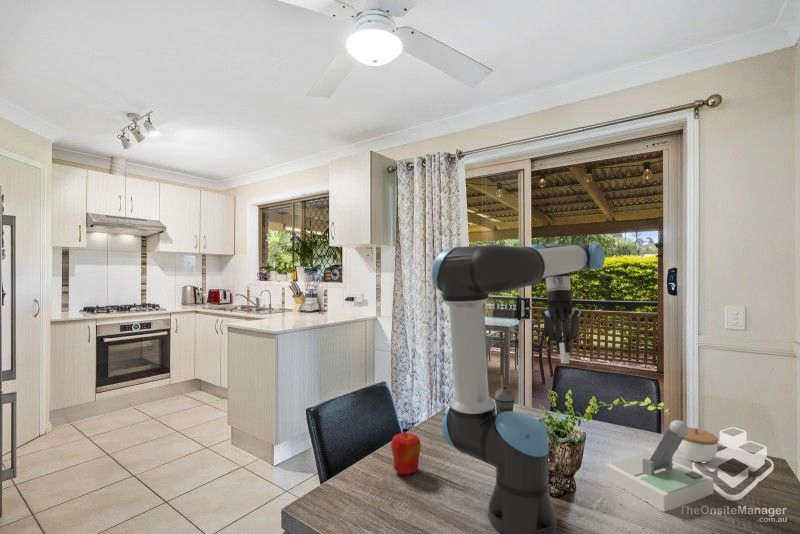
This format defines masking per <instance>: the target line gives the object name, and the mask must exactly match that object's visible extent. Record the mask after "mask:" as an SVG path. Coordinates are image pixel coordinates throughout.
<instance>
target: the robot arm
mask: <svg viewBox="0 0 800 534" xmlns="http://www.w3.org/2000/svg"><path fill="white" fill-rule="evenodd" d="M605 260H606V254H605V250H604V247H603V245H601V244H600V243H581V244H558V243H555V244H549V245H543V244H537V243H536V244H535V243H534V244H531V245H529V246H509V245H499V244H498V245H497V244H490V245H489V244H487V245H474V246H473V245H471V246H470V245H469V246H455V247H449V248H446V249H444V250H442V251H441V252H440V253H439V254H438V255H437V257H436V258H435V260H434V262H433V265H432V269H431V279H432V283H433V285H434V286H435V287H436V289H437V290H439V291H440V292H441V293H442V301H443V302H444V303H445V304H446V305H447V306H448V307H449V320H450V321H449V323H450V333H451V334H450V336H451V338H450V339H451V351H452V364H453V367H452V368H453V381H454V397H453V398H452V399H451V400H450V402H449V405H447V407H446V408H445V412H444V416H443V417H442V420H441V421H442V422H441V427H442V429H441V430H442V434H443V437H444V439H445V441H446V442H447V444H448V445H449V446H450V447H451V448H454V449H455V450H456V451H458V452H460V453H462V454H464V455H468V456H470V457H472V458H475V459H476V460H479V461H481V462H484V463H486V464H487V465H490V466H493V467H494V468H495V470H496V471H495V474H496V476H495V477H496V479H495V481H496V482H495V485H494V489H493V491H492V495H491V497H490V500H489V502H488V519H489V521H490V523H491V525H492V526H493V527H494V529H495V530H497V531H498V532H499V533H501V534H556V533H557V528H558V524H557V523H558V519H557V514H556V511H555V508H554V505H553V501H552V499H551V495H550V493H549V452H550V444H549V438H548V437H549V436H548V431H547V429H546V427H545V426H544V424H543V423H542V422H541V421H539V420H538V419H537V418H535V417H533V416H531V415H528V414H526V413H522V412H520V411H519V412H516V411H513V412H511V411H507V412H502V413H500V414H499V415H497V411H496V403H495V399H493V398H492V397H491V396H490V394H489V382H488V381H489V380H488V365H487V364H488V362H487V350H486V349H487V347H486V332H485V331H486V330H485V317H484V316H485V314H484V304H485V303H486V302H487V301H488V300H489V297H490V296H489V295H490V294H501V293H507V292H510V291H515V290H518V289H523V288H526V287H530V286H534V285H536V284H537V283H539V282H540V281H541V280H542V279H545V285H546V290H547V293H546V296H547V298H546V299H547V308H546V309H547V310H544V312H541V313H540V315H541V317H542V318H543V320H544V322H545V326H546V329H547V332H548V335H549V338H550V341H553V342H555V343H556V350H557V353H559V354H560V364H570V355H569V353H571V352H572V349H571V342H573V341H576V340H577V336H578V328H579V327H578V326H579V321H580V316H581V315H582V310H580V309H577V308H575V307H574V305H573V299H572V298H573V296H572V291H571V289H572V287H571V278H570V277H571V276H570V273H573V272H578V271H581V270H583V271H584V270H590V271H593V270H600V269H601V268H603V267H604V265H605V262H606V261H605ZM571 315H572V316H571ZM551 316H552V317H553V318H551ZM570 316H571V319H570ZM552 319H553V321H552ZM570 320H571V322H570ZM553 322H554V323H553Z"/></svg>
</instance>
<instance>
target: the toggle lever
mask: <svg viewBox="0 0 800 534" xmlns="http://www.w3.org/2000/svg"><path fill="white" fill-rule="evenodd" d="M688 431H689V429H688V425H687V424H686V423H685V422H684V421H683V420H680V419H679V420H678V419H674V420H672V421H671V422H670V423H669V429H667V430H666V431H665V433H664V435H663V437H662V438H661V440H660V442H659V443H658V445H657V447H656V449H655V450H654V452H653V453H654V454H653V455H652V457H651V459H650V461H652V462H654V471H655V470H659V469H662V468H665V467H667V466H668V463H669V461H670V460H671V458H672V459H673V457H674V455H675V453H676V451H677V450H678V447H679V445H680V443H681V442H682V440H683V439H684V437H685V436H686V435H687V434H688Z"/></svg>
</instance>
